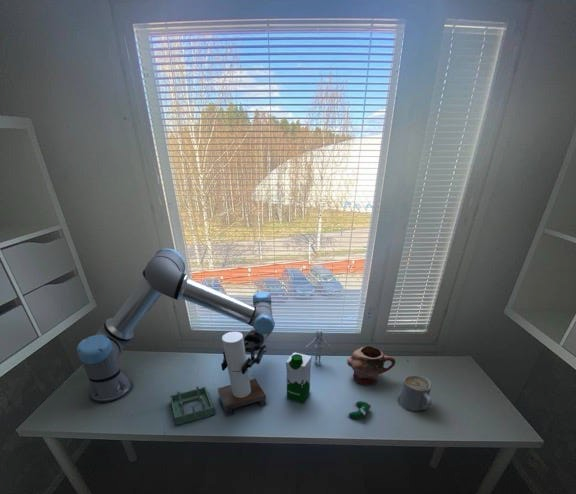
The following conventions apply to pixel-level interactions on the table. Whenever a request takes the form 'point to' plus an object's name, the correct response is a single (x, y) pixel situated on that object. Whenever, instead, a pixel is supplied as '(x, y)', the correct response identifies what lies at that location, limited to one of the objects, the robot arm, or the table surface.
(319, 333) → the human figurine
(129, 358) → the table surface
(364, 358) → the clay jug
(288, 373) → the milk carton
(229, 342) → the cylindrical container
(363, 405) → the green curved piece
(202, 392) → the drying rack
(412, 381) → the coffee mug
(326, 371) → the table surface
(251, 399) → the brown slab
